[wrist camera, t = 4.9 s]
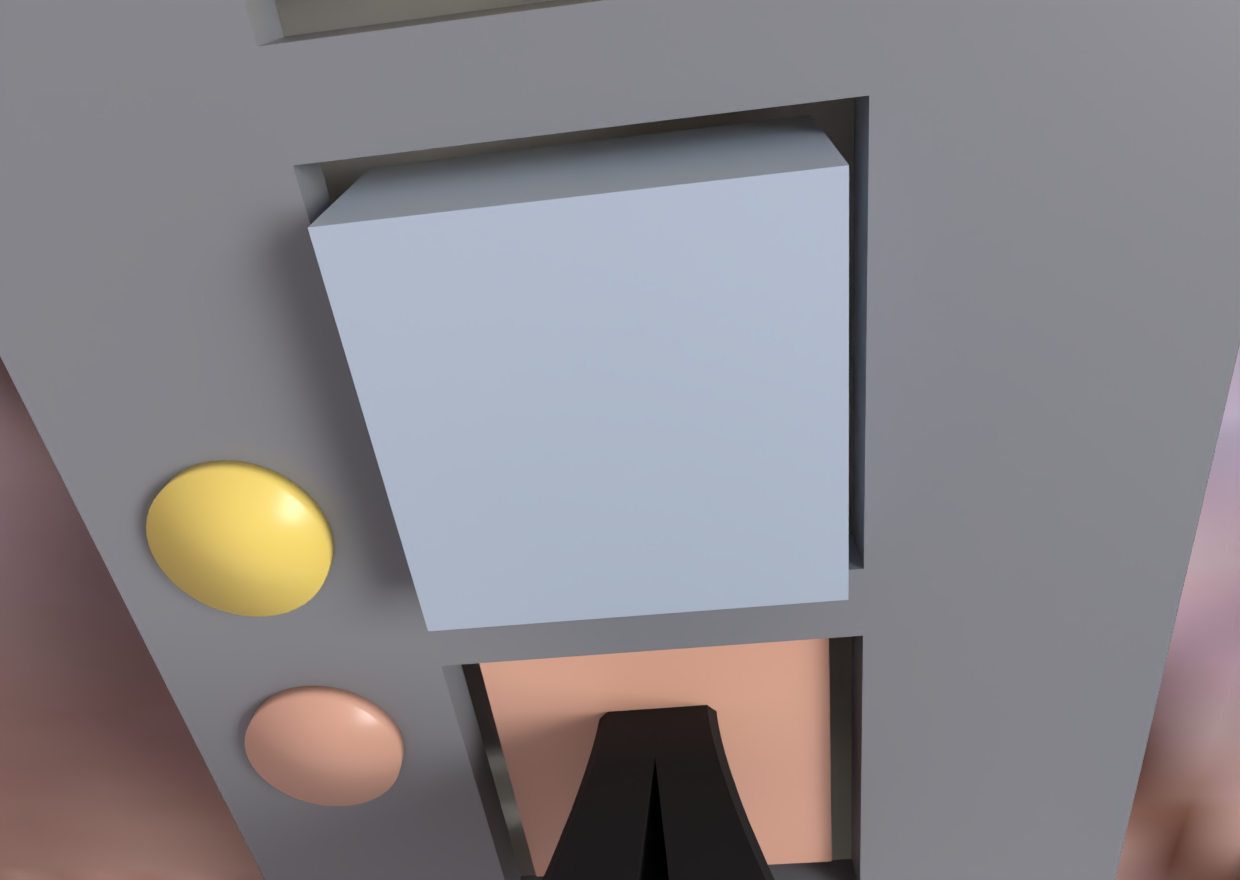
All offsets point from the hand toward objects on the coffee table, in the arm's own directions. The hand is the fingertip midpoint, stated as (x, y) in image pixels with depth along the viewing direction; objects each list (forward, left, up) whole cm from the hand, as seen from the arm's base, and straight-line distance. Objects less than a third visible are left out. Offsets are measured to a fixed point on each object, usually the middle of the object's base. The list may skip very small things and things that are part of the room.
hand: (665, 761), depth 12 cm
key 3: (+5, 0, -1) cm, 6 cm away
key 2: (0, 0, -2) cm, 2 cm away
